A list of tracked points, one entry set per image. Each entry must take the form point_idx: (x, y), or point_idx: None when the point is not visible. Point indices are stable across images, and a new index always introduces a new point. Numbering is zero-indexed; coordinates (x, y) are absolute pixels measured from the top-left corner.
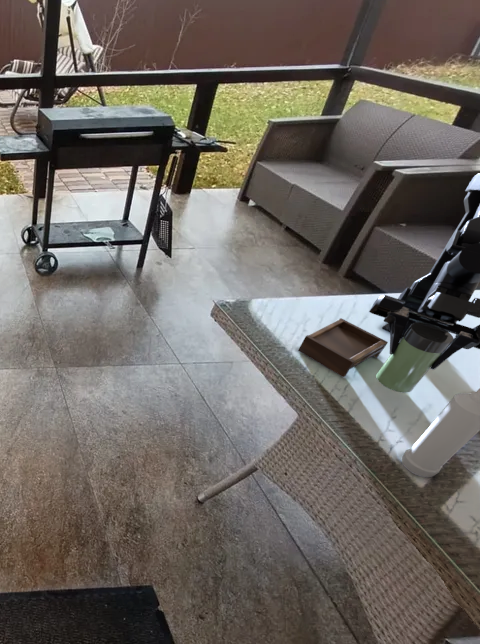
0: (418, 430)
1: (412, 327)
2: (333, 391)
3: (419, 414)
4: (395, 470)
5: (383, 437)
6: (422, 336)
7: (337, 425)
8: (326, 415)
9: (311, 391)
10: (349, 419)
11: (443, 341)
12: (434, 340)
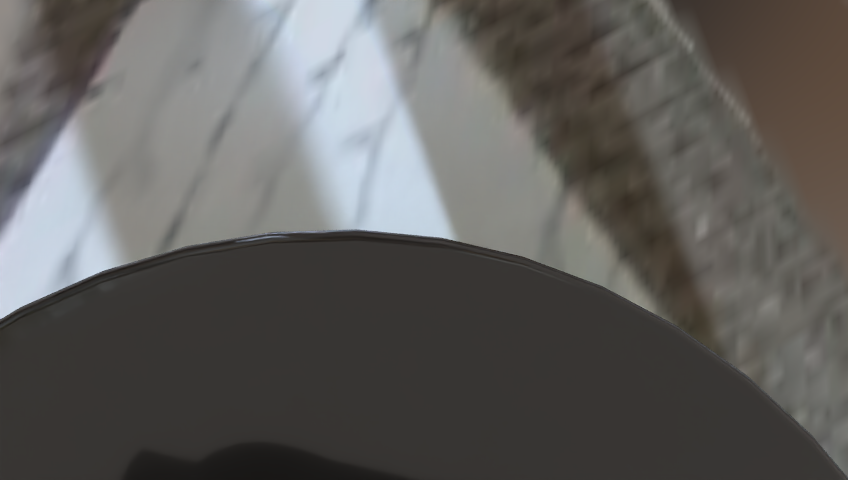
0: (215, 219)
1: None
2: None
3: None
4: None
5: (400, 62)
6: (701, 388)
7: (620, 40)
8: (675, 96)
9: (757, 279)
10: (560, 125)
11: (36, 400)
12: (333, 316)
